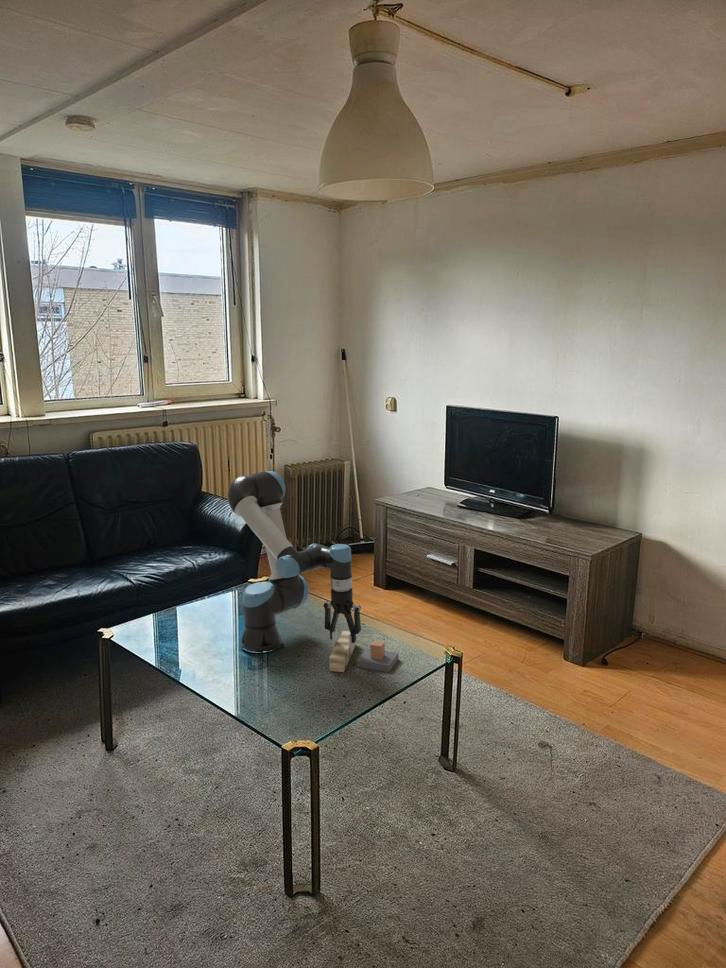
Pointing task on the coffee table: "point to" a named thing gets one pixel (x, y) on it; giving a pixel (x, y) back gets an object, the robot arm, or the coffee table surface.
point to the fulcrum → (377, 658)
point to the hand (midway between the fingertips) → (343, 649)
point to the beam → (340, 653)
